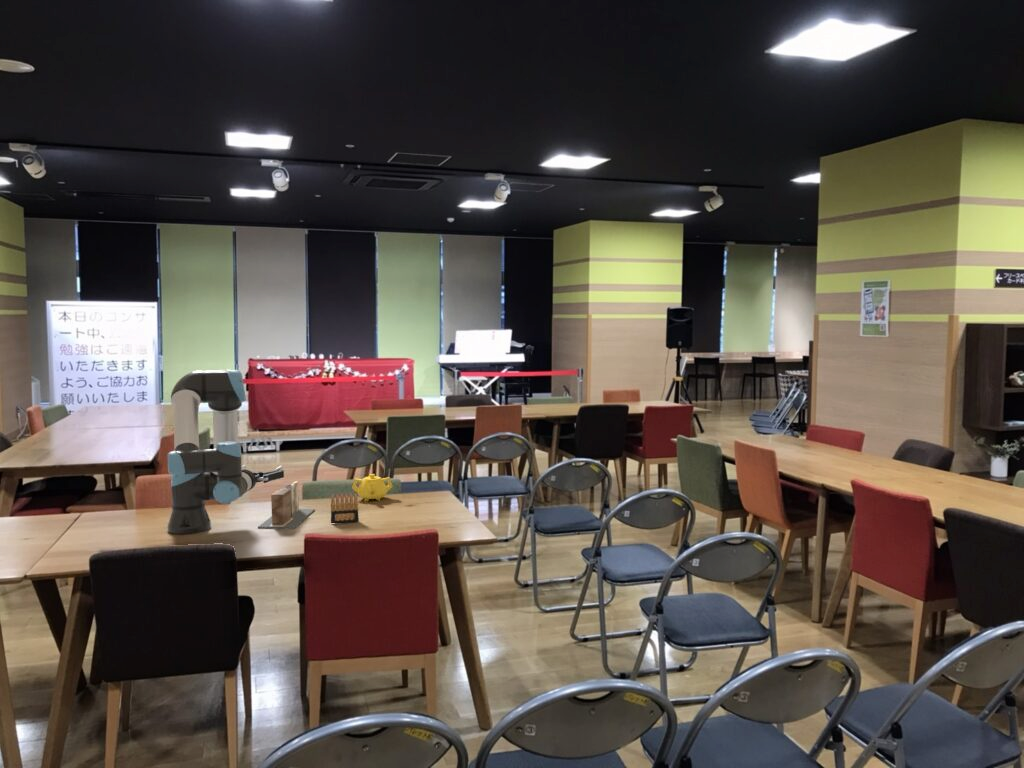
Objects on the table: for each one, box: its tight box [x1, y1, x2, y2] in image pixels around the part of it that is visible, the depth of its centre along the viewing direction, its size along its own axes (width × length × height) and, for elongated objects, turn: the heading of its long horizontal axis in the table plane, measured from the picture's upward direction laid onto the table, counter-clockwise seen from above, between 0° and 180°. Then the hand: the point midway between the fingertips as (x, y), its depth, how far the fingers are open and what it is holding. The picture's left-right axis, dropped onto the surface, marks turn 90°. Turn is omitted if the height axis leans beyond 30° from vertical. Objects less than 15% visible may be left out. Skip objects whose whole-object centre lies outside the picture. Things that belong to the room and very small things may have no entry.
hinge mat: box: [257, 508, 316, 529], centre depth 306 cm, size 28×14×1 cm, turn 178°
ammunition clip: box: [330, 491, 360, 524], centre depth 300 cm, size 11×2×12 cm, turn 107°
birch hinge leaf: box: [284, 480, 300, 517], centre depth 312 cm, size 12×3×13 cm, turn 178°
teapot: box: [351, 473, 394, 502], centre depth 339 cm, size 20×18×11 cm
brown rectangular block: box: [270, 488, 291, 525], centre depth 299 cm, size 4×10×12 cm, turn 178°
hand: (263, 468), depth 281 cm, fingers open, 13 cm apart
